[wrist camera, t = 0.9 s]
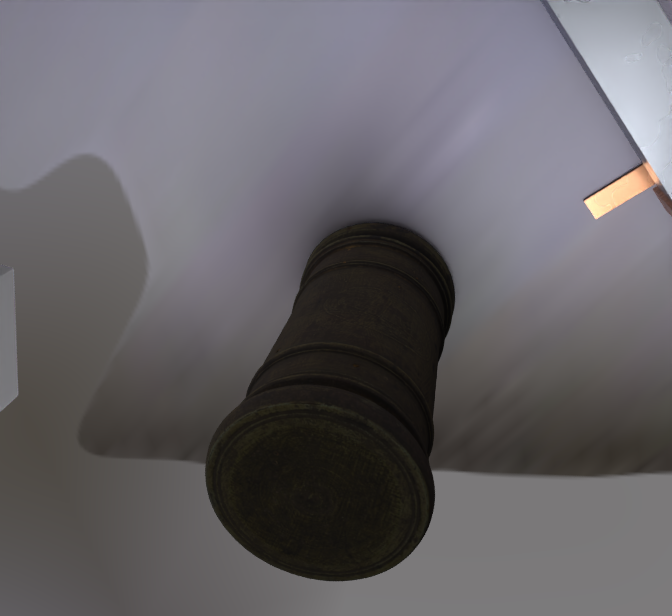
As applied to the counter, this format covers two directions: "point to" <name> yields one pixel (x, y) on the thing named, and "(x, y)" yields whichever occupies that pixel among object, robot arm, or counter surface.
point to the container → (341, 413)
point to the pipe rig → (627, 84)
